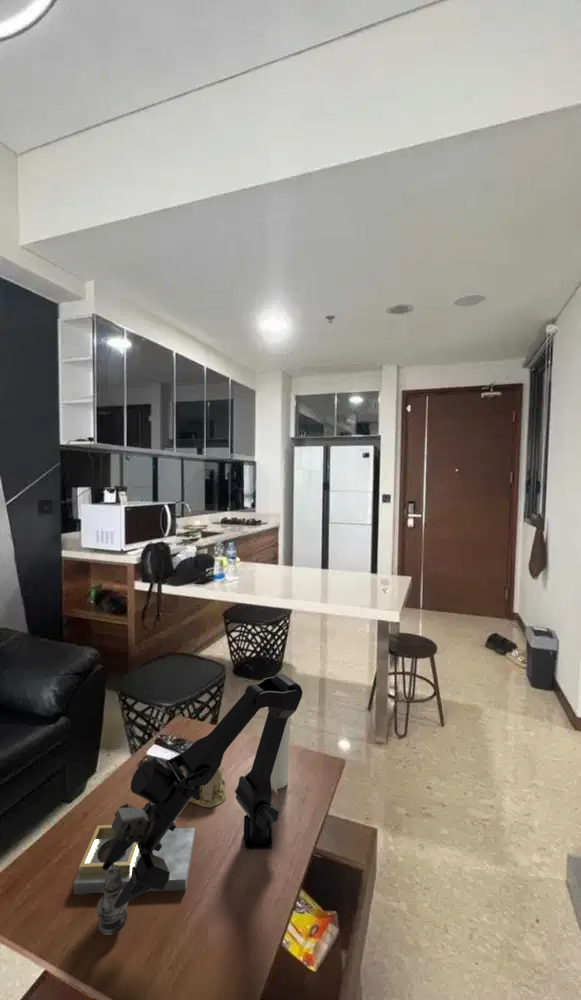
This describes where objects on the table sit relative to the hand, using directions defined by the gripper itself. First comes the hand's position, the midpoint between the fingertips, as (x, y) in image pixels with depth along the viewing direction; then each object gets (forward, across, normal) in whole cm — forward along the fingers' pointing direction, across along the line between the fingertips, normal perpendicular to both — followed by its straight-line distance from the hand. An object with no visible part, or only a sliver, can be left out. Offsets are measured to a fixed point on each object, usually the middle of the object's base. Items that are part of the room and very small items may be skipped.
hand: (109, 887), depth 84 cm
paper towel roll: (-29, -13, +39) cm, 51 cm away
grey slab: (-1, -9, +11) cm, 15 cm away
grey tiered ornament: (+5, 0, +6) cm, 8 cm away
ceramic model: (-15, -21, +26) cm, 37 cm away
